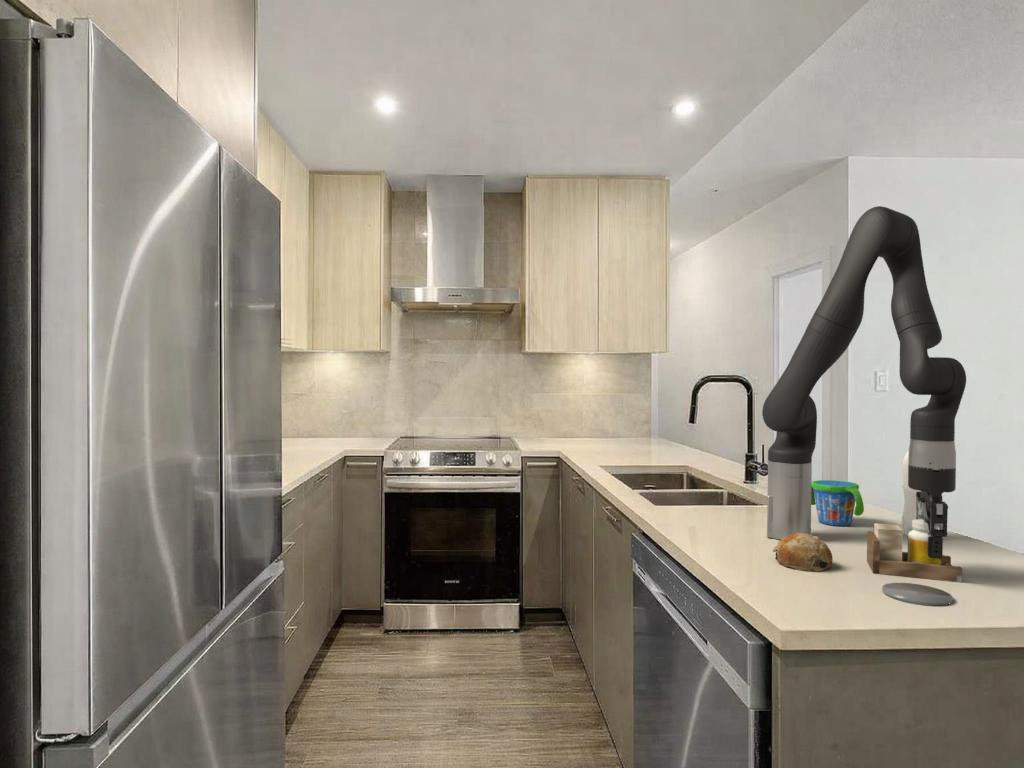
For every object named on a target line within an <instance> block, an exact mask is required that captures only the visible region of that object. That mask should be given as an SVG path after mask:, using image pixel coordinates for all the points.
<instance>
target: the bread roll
mask: <svg viewBox="0 0 1024 768" xmlns="http://www.w3.org/2000/svg"><path fill="white" fill-rule="evenodd" d="M772 553H775V561H777V563H778V565H781V566H783V567H785V568H789V569H793V570H796V569H797V571H802V570H803V571H804V572H815V573H818V572H822V571H826V570H827V569H831V567H832V566H833V561H834V559H833V553H832V551H831V549H830V548H829V546H828V545H827V543H826V542H825V541H823V540H822V539H821V538H820V536H816V535H812V534H811V535H810V534H807V533H794V534H791V535H789V536H786V537H785V538H783V539H782V540H778V541H777V545H776V546H775V547H773V549H772ZM803 571H802V572H803Z"/></svg>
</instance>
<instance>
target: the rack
mask: <svg viewBox="0 0 1024 768" xmlns="http://www.w3.org/2000/svg"><path fill="white" fill-rule="evenodd" d="M873 525H874V527H873V528H874V531H873V530H867V531H866V534H867V535H866V562H867V564H868V566H869V568H870V570H871V572H872V574H876V575H884V576H885V575H886V576H897V577H904V578H905V577H906V578H915V579H924V578H925V580H934V579H936V580H935V581H944V580H948V581H947V582H954V581H956V582H955V583H963V567H961V566H953V565H952V564H951V563H952V559H951V558H952V556H950V555H945V554H943V557H942V558H941V565H935V564H925V563H914V562H907V558H908V551H903V533H904V531H903V528H901V527H900V526H899V525H898V524H889V523H888V524H887V523H874V524H873ZM937 579H939V580H937Z"/></svg>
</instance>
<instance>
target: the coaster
mask: <svg viewBox="0 0 1024 768" xmlns="http://www.w3.org/2000/svg"><path fill="white" fill-rule="evenodd" d="M881 588H882V589H881V590H882V593H883V594H884V595H885V596H888V597H889V598H892V599H894V600H898V601H901V602H904V603H908V604H913V603H914V604H915V605H919V604H922V605H921V606H927V605H944V606H946V605H945V604H949V603H951V602H952V603H953V596H952V595H951V594H950V593H949V592H947V591H946V590H943V589H939V588H936V587H933V586H928V585H923V584H919V583H912V582H911V583H910V582H889V583H885V584H884V585H882V587H881ZM952 603H951V604H952ZM924 604H925V605H924ZM949 605H950V604H949Z"/></svg>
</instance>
